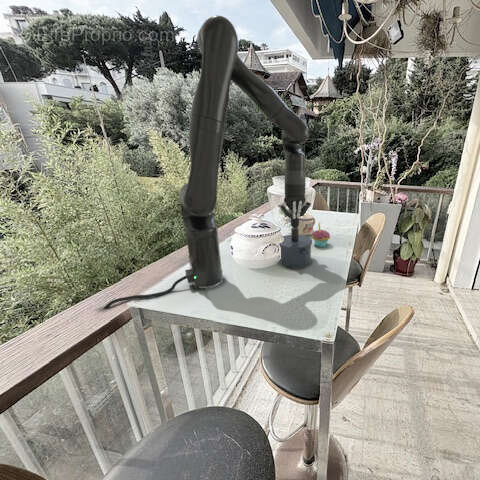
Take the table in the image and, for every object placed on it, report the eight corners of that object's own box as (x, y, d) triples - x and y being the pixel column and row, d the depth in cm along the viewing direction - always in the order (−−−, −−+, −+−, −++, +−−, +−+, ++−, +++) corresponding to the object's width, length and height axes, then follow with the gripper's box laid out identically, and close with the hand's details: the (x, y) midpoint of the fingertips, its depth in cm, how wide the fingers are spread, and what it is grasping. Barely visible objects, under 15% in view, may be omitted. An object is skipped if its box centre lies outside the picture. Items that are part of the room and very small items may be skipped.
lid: (287, 253, 95) (286, 236, 93) (271, 240, 106) (271, 226, 104) (318, 246, 102) (319, 231, 100) (301, 235, 113) (301, 221, 111)
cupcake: (323, 249, 119) (324, 224, 115) (307, 245, 123) (308, 220, 119) (332, 244, 126) (334, 220, 122) (317, 240, 130) (318, 216, 126)
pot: (291, 274, 97) (290, 253, 94) (271, 256, 111) (270, 237, 108) (319, 267, 103) (320, 246, 100) (297, 250, 117) (297, 232, 114)
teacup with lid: (304, 237, 133) (304, 214, 129) (292, 232, 139) (292, 211, 135) (320, 232, 141) (321, 210, 137) (308, 227, 147) (309, 207, 143)
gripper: (305, 179, 102) (304, 222, 108) (273, 181, 95) (274, 227, 101) (316, 182, 96) (314, 227, 102) (282, 184, 89) (283, 233, 95)
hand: (294, 227), depth 102 cm, fingers closed
